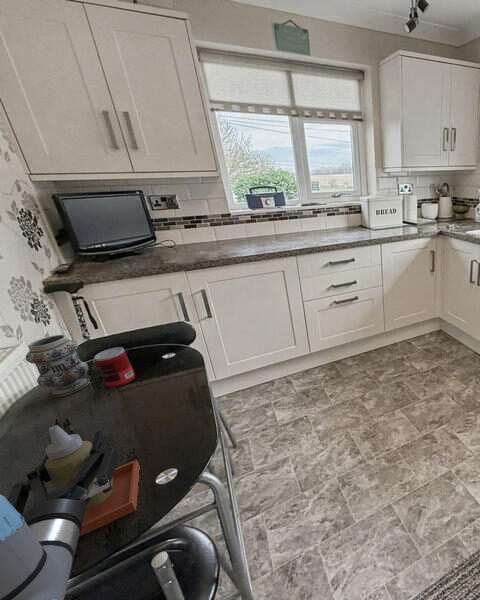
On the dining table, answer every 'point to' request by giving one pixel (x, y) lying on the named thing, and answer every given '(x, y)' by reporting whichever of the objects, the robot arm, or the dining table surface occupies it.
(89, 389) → the dining table surface
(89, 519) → the tray
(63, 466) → the squeeze bottle
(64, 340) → the apothecary jar
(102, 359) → the canned food
